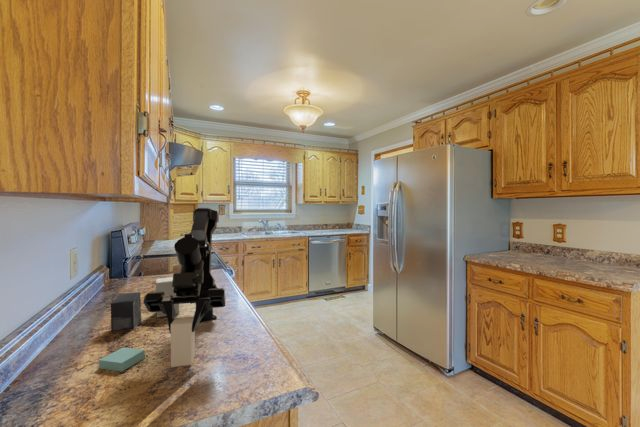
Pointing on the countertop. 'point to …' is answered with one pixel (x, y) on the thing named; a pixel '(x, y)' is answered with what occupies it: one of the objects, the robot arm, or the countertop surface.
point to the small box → (126, 312)
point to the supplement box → (166, 291)
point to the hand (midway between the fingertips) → (181, 332)
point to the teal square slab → (122, 359)
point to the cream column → (182, 342)
